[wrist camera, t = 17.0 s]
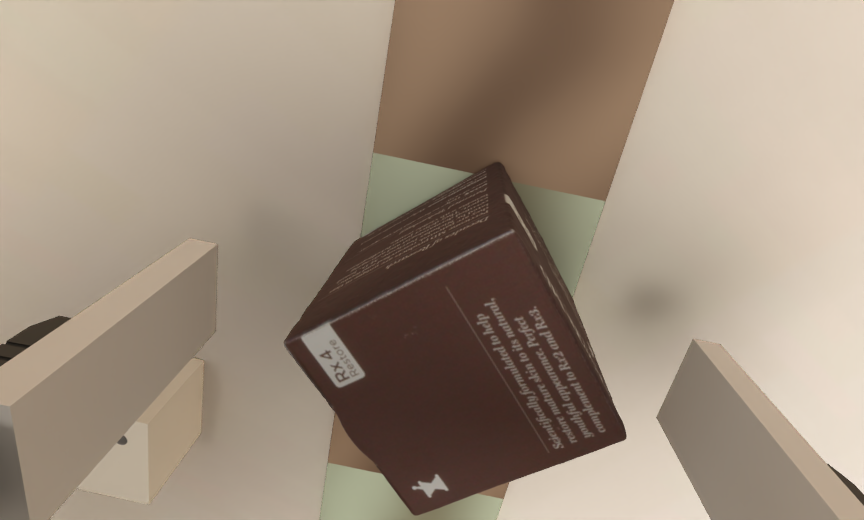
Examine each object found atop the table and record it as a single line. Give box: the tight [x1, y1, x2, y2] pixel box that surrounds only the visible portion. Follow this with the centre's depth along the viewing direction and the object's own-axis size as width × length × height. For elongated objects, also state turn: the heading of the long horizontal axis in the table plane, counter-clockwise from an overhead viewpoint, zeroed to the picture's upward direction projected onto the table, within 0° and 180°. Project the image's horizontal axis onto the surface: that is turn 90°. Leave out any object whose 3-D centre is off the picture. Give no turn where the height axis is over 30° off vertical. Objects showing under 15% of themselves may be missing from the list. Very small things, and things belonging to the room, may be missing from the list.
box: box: [284, 162, 626, 516], centre depth 15 cm, size 6×6×7 cm
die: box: [76, 358, 204, 505], centre depth 20 cm, size 4×4×4 cm
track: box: [319, 0, 674, 520], centre depth 21 cm, size 8×35×1 cm, turn 169°
